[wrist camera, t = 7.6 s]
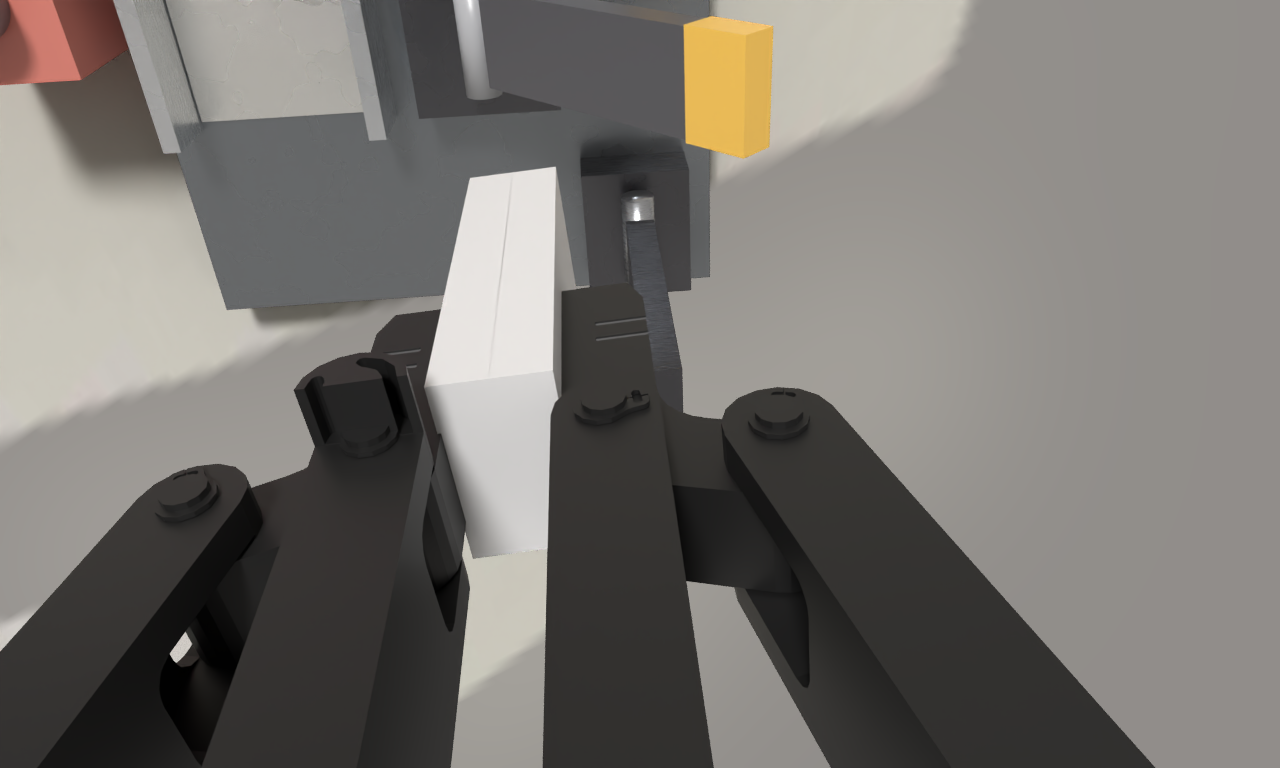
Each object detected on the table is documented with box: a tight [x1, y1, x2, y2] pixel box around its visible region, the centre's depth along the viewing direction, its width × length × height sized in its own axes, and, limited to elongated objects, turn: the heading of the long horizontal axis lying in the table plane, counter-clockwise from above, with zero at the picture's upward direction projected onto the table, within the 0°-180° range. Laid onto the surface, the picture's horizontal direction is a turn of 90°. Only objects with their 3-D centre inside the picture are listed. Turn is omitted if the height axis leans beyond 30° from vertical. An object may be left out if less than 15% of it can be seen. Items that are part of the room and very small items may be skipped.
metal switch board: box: [113, 0, 710, 413], centre depth 30 cm, size 20×17×16 cm
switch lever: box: [453, 0, 773, 159], centre depth 28 cm, size 1×4×12 cm
